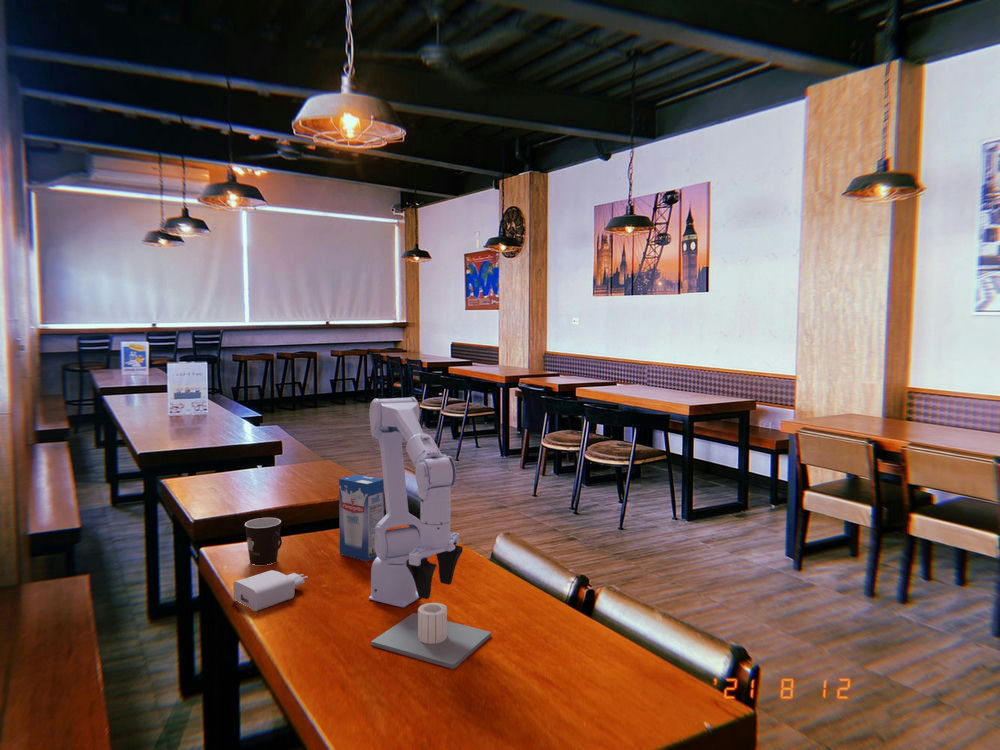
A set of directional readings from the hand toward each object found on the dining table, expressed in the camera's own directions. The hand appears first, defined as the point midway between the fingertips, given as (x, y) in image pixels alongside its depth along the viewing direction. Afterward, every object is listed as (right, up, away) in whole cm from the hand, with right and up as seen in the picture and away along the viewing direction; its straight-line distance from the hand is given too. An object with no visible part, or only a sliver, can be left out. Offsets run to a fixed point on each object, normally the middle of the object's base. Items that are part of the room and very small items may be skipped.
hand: (435, 590), depth 126 cm
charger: (-37, -8, +20) cm, 43 cm away
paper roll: (0, -9, -1) cm, 9 cm away
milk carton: (-24, -6, +46) cm, 52 cm away
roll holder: (0, -9, -1) cm, 9 cm away
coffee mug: (-47, -6, +39) cm, 61 cm away
